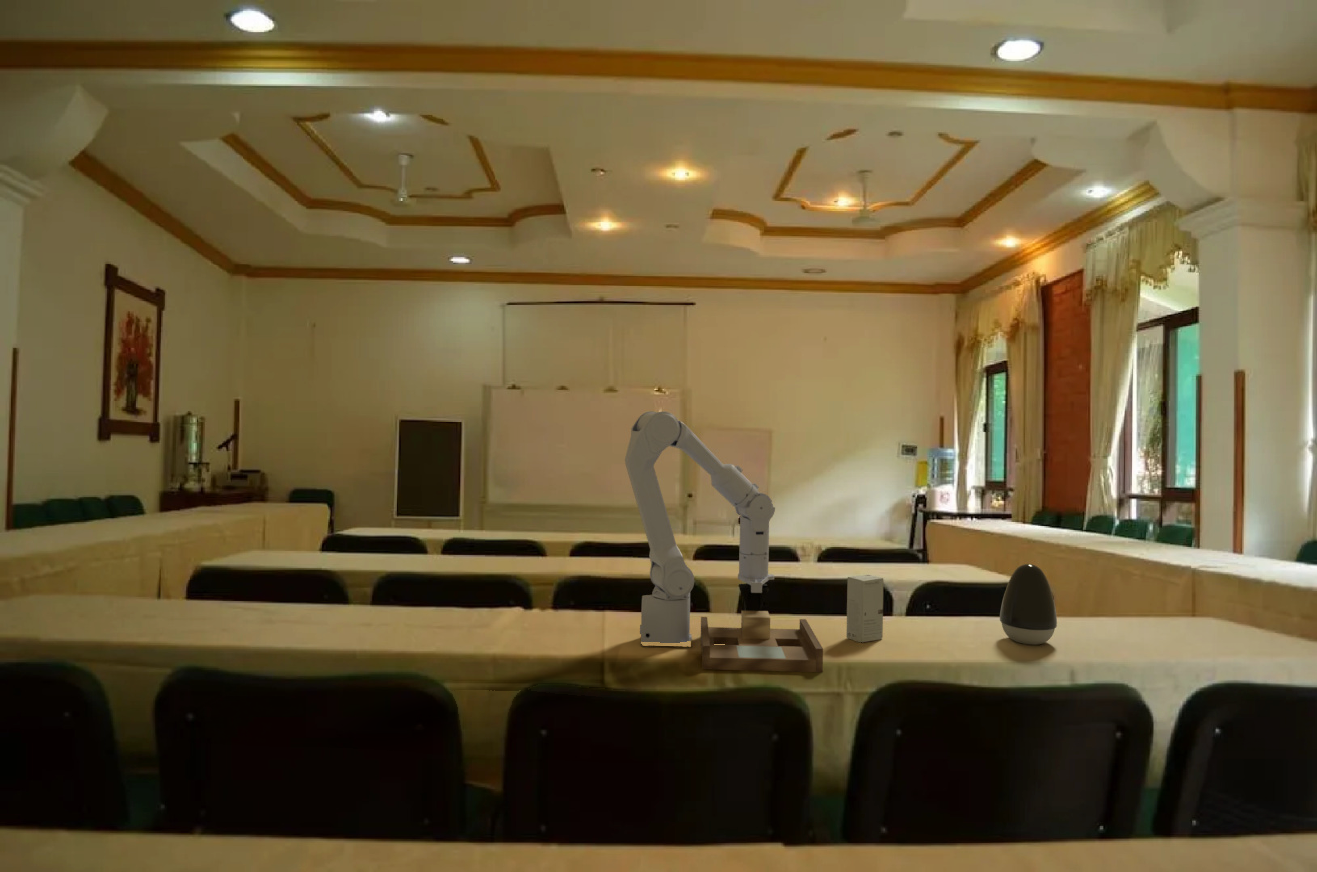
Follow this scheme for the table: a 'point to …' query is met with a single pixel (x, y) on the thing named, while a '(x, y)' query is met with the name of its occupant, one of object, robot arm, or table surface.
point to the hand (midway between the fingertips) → (752, 621)
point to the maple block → (755, 624)
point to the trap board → (761, 649)
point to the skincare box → (865, 608)
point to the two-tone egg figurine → (1028, 607)
